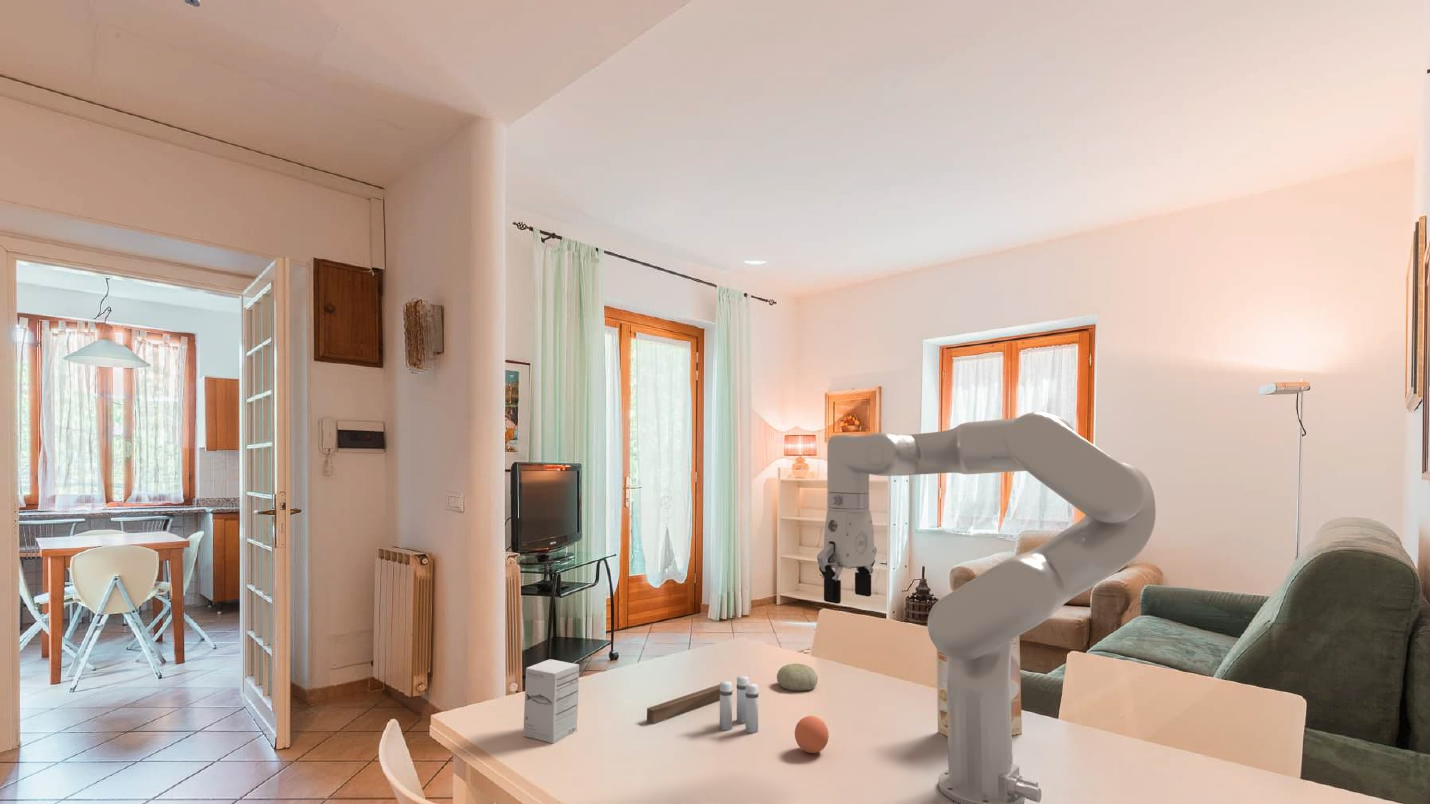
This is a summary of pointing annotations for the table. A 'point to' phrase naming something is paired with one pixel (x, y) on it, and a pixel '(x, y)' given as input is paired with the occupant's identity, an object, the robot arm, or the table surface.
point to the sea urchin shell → (797, 677)
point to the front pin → (751, 708)
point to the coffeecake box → (1015, 690)
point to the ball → (811, 734)
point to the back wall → (683, 704)
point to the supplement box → (551, 700)
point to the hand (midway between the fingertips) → (848, 598)
